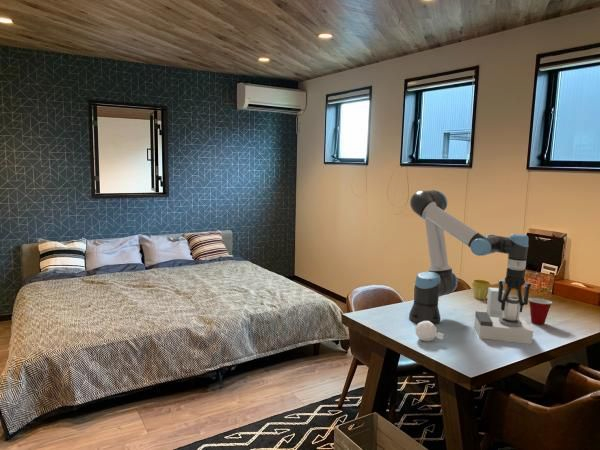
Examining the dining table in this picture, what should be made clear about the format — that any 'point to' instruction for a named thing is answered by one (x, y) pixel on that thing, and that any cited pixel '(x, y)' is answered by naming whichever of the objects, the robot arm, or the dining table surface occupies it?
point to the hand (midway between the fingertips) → (510, 317)
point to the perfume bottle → (427, 331)
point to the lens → (512, 307)
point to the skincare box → (494, 303)
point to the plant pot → (481, 288)
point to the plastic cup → (539, 310)
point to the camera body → (502, 329)
